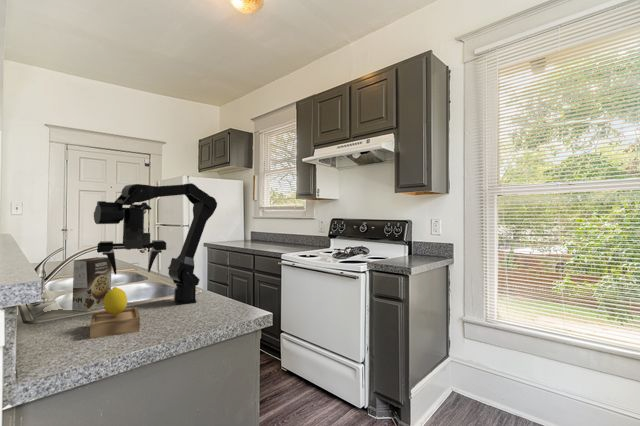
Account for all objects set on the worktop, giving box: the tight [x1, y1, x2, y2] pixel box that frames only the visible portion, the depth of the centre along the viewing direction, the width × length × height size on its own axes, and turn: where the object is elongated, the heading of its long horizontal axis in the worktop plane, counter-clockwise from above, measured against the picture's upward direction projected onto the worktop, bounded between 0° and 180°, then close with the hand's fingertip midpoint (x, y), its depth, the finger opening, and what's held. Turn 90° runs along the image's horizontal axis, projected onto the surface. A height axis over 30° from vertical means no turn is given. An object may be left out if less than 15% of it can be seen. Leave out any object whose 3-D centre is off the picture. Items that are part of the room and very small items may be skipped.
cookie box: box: [71, 256, 113, 313], centre depth 110 cm, size 9×6×16 cm
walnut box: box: [89, 306, 141, 339], centre depth 91 cm, size 11×11×4 cm
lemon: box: [103, 286, 128, 316], centre depth 92 cm, size 6×6×8 cm
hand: (132, 273), depth 106 cm, fingers open, 9 cm apart
